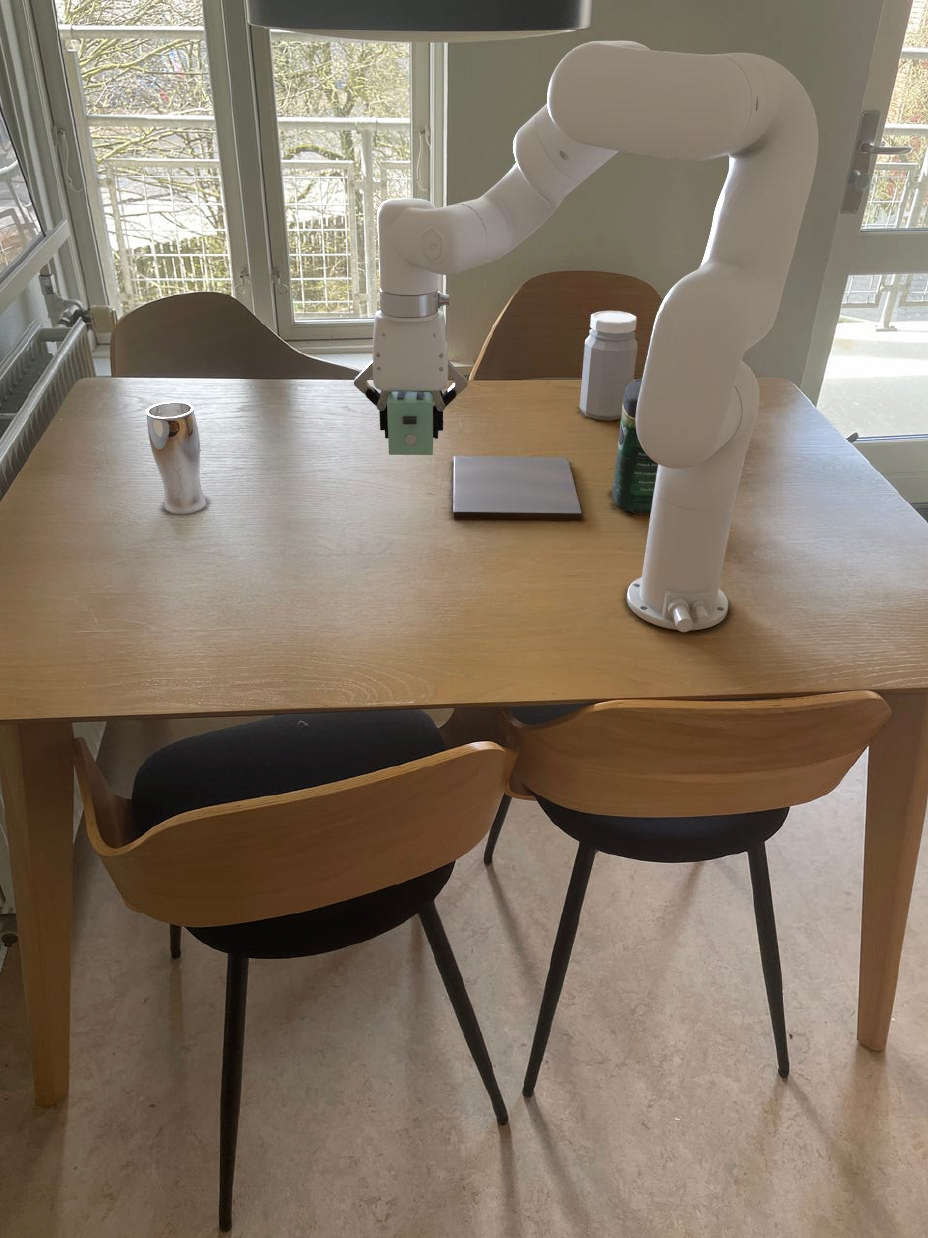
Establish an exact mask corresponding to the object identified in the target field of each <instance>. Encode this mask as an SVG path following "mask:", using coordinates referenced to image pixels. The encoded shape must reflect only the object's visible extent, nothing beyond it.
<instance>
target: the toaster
mask: <svg viewBox="0 0 928 1238" xmlns="http://www.w3.org/2000/svg"><path fill="white" fill-rule="evenodd" d="M433 406H434V401H433V394H430V392H394V391H392V392H391V394H389V395H388V401H387V415H388V438H387V441H388V456H389V455H390V456H433V454H434V438H433Z"/></svg>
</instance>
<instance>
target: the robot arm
mask: <svg viewBox="0 0 928 1238" xmlns="http://www.w3.org/2000/svg"><path fill="white" fill-rule="evenodd" d="M808 94H809V93H808V92H807V91H806V89H805V88H804V86H803V84H802V83H801V82H800V81H799V80H798V78H797V77H796V76H795V75H794V74H793V73H792V72H791V71H790V70H789V69H787V68H786V67H785V66H784V65H782V64H780V63H779V62H778V61H776V60H774V59H772V58H769V57H767V56H765V55H762V54H757V53H750V52H729V53H728V52H727V53H714V54H712V53H711V54H703V53H702V54H699V53H690V52H689V53H687V52H675V51H665V50H664V51H663V50H655V49H654V50H653V49H652V50H651V48H649V47H648V46H646V45H644V44H643V43H639V42H636V41H632V40H596V41H595V40H592V41H588V42H585V43H582V44H580V45H578V46H576V47H574V48H573V49H571V50H570V51H569V52H567V53H566V54H565V55H564V57H563V58H562V59H560V61H559V63H558V64H557V65H556V67H555V68H554V71H553V72H552V74H551V77H550V80H549V83H548V87H547V97H546V99H547V103H545V104H544V106H542V107H541V108H540V109H539V110H538V111H537V112H536V113H535V114H534V115H533V116H532V117H530V118H529V119H528V120H527V122H525V123H524V124H523V125H522V126H521V127H520V128H519V129H518V130H517V132H516V133H515V135H514V138H513V142H512V144H513V146H512V149H513V155H514V159H515V164H513V166H512V167H511V168H510V170H509V171H508V172H506V174H505V175H504V176H503V177H502V178H501V179H500V180H498V181H497V182H496V183H495V184H494V185H493V186H492V187H490V188H489V189H488V190H487V191H486V192H485V193H484V194H482V195H481V196H480V197H478V198H476V199H470V200H467V201H462V202H458V203H454V204H451V205H446V206H445V205H444V206H441V207H436V206H435V205H434V203H432V201H429V200H427V199H424V198H423V199H422V198H413V197H402V198H392V199H388V200H384V201H382V203H381V204H380V205H379V206H378V209H377V213H376V218H377V219H376V220H377V221H376V223H377V244H378V245H377V250H378V253H377V254H378V272H379V273H378V277H379V279H378V280H379V303H380V305H379V306H380V310H377V311H376V312H375V315H374V320H373V321H374V322H373V329H372V330H373V332H372V360H371V361H370V362H369V363H368V364H367V365H366V366H365V368H363V369H362V370H361V372H359V374H357V376H355V377H354V380H353V385H354V387H355V388H357V389H358V390H359V391H360V392H361V393H362V394H364V396H365V397H366V398H367V399H368V400H369V401H370V402H371V403H372V404H373V405H374V406H375V407H376V409H377V410H378V411H379V412H378V413H379V430H380V431H384V439H388V415H387V401H388V395H389V394H391V392H392V391H394V392H430V394H433V401H434V406H433V439H435V440H438V439H439V432H442V431H444V411H445V410H446V407H447V406H448V405H450V404H451V403H452V402H453V401H454V400H455V399H456V398H457V396H458V395H459V394H460V393H462V392H463V391H464V390H465V389H466V388H467V387H468V384H469V383H468V381H469V380H468V379H467V377H466V376H464V374H463V373H462V372H461V371H460V370H459V369H457V367H456V366H455V365H454V364H453V363H452V362H451V361H450V360H449V344H448V342H449V341H448V330H447V324H446V318H445V313H444V312H443V311H442V310H439V309H441V307H444V306H450V294H444V293H441V291H440V290H439V275H441V276H442V275H443V276H451V275H456V274H460V273H463V272H466V271H468V270H471V269H472V270H473V268H476V267H481V266H483V265H486V264H490V263H493V262H495V261H498V260H500V259H501V258H503V257H504V256H506V255H508V253H510V252H511V251H513V250H514V249H515V248H517V247H518V246H519V245H520V244H522V243H523V242H524V241H525V240H526V239H527V238H529V237H530V236H531V235H532V234H533V233H535V232H536V231H537V230H538V229H539V228H541V227H542V226H543V225H544V224H545V223H546V222H547V221H548V220H549V219H550V218H551V216H553V214H554V213H555V211H556V210H557V209H558V208H559V207H560V206H561V204H562V203H563V201H564V199H565V198H566V197H567V196H569V194H570V193H571V192H572V191H573V190H575V189H576V188H577V187H578V186H580V185H581V184H582V183H583V182H584V181H586V179H588V178H589V177H590V176H591V175H592V174H594V173H595V172H596V171H597V170H598V169H599V168H601V167H602V166H603V165H604V164H606V163H607V162H608V161H609V160H611V159H612V158H613V157H615V156H616V155H617V154H618V153H619V152H624V153H629V154H630V153H631V154H637V155H643V156H648V157H656V158H662V159H668V160H673V161H681V162H704V161H710V160H715V159H717V158H721V157H725V156H728V158H729V167H728V173H727V176H726V178H725V181H724V184H723V186H722V189H721V192H720V195H719V197H718V200H717V203H716V206H715V209H714V213H713V217H712V224H711V229H710V233H709V237H708V241H707V245H706V248H705V252H704V256H703V259H702V261H701V264H700V266H698V268H697V269H695V270H693V271H692V272H689V273H688V274H686V275H684V276H683V277H682V278H680V279H679V280H678V281H677V282H676V283H675V284H674V285H673V286H672V287H671V288H670V290H669V291H668V292H667V293H666V295H665V296H664V299H663V300H662V302H661V304H660V306H659V309H658V311H657V313H656V316H655V320H654V323H653V328H652V331H651V336H650V340H649V344H648V345H649V346H648V351H647V355H646V360H645V363H644V364H645V365H644V370H643V374H642V378H641V379H642V383H641V388H640V393H639V397H638V402H637V408H636V432H637V436H638V439H639V442H640V444H641V446H642V448H643V450H644V451H645V453H646V454H647V455H648V456H649V457H650V458H651V459H652V460H653V461H654V462H656V463H657V464H658V470H657V476H656V482H655V488H654V495H653V502H652V509H651V513H650V517H649V524H648V525H649V526H648V529H647V530H648V532H647V538H646V545H645V551H644V552H645V553H644V558H643V559H644V560H643V567H642V574H641V576H640V577H639V578H637V579H634V581H632V582H631V584H630V585H629V586H628V588H627V593H626V602H627V605H628V607H629V608H630V610H631V611H632V612H633V613H634V614H635V615H636V616H638V617H639V618H641V619H642V620H644V621H646V622H647V623H650V624H652V625H655V626H657V627H661V628H664V629H669V630H673V631H674V630H675V631H679V632H681V633H686V632H690V631H699V630H704V629H708V628H711V627H714V626H716V625H718V624H719V623H721V622H722V621H723V620H724V619H725V618H726V617H727V614H728V610H729V599H728V597H727V596H726V594H725V593H724V591H723V590H721V589H720V584H721V583H720V582H721V577H722V572H723V567H724V561H725V557H726V552H727V547H728V543H729V536H730V532H731V527H732V526H731V525H732V520H733V516H734V511H735V506H736V501H737V498H738V492H739V487H740V483H741V477H742V473H743V468H744V464H745V460H746V456H747V453H748V449H749V446H750V443H751V439H752V436H753V433H754V430H755V426H756V423H757V419H758V415H759V410H760V401H761V399H760V397H761V395H760V387H759V383H758V380H757V377H756V375H755V373H754V372H753V370H752V369H751V367H750V366H749V365H748V364H747V363H745V362H744V360H743V358H744V355H745V352H746V351H749V349H751V348H752V347H754V346H755V345H756V344H757V343H759V342H760V341H761V340H763V338H765V337H766V335H767V334H768V333H769V332H770V330H771V329H772V328H773V325H774V324H775V321H776V319H777V316H778V314H779V313H778V312H779V310H780V306H781V301H782V297H783V292H784V289H785V286H786V281H787V278H788V274H789V271H790V268H791V263H792V259H793V256H794V253H795V249H796V247H797V246H796V245H797V243H798V238H799V233H800V230H801V229H800V228H801V225H802V222H803V217H804V215H805V211H806V207H807V204H808V200H809V197H810V193H811V189H812V185H813V181H814V177H815V173H816V168H817V161H818V155H819V126H818V119H817V115H816V111H815V108H814V105H813V103H812V99H811V98H810V96H809V95H808ZM371 378H372V381H373V386H372V385H371V384H370V383H369V382H368V381H369V380H370V379H371ZM449 378H450V379H451V380H452V381H453V382H454V383H452V385H451V386H450V387H449V388H447V386H448V379H449ZM446 388H447V389H446ZM445 389H446V390H445ZM378 390H379V391H380V392H379V391H378ZM443 390H445V391H444V392H443Z"/></svg>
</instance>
